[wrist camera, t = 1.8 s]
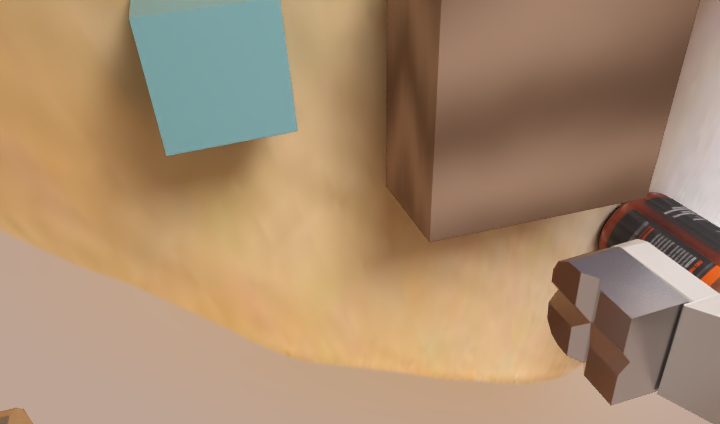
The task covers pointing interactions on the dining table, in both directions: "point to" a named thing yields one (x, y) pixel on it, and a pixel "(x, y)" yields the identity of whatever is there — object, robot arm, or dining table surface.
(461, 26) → the walnut block
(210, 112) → the teal cube
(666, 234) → the supplement bottle
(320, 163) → the dining table surface
